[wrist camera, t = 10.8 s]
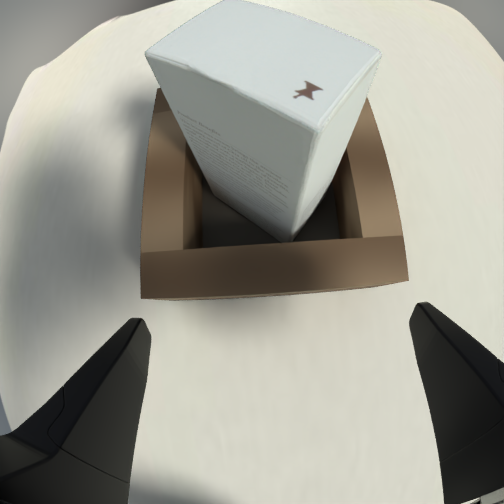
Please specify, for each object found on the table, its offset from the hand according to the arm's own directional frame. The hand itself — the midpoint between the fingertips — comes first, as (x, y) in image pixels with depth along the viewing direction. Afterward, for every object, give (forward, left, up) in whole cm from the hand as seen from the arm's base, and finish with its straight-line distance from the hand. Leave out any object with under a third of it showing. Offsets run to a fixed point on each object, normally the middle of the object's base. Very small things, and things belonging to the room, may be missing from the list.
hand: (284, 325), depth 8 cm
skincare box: (+6, +4, -8) cm, 11 cm away
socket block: (+7, +4, -9) cm, 12 cm away
